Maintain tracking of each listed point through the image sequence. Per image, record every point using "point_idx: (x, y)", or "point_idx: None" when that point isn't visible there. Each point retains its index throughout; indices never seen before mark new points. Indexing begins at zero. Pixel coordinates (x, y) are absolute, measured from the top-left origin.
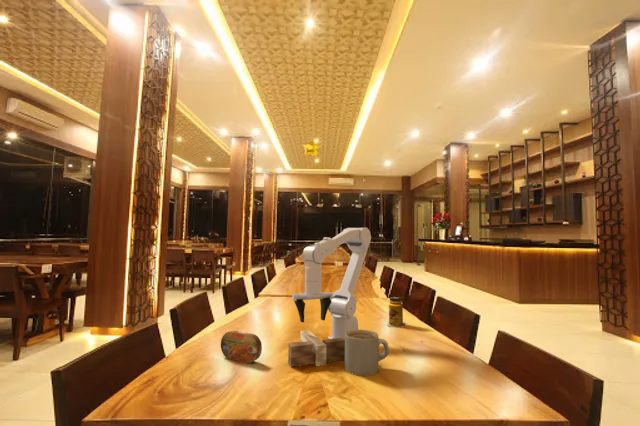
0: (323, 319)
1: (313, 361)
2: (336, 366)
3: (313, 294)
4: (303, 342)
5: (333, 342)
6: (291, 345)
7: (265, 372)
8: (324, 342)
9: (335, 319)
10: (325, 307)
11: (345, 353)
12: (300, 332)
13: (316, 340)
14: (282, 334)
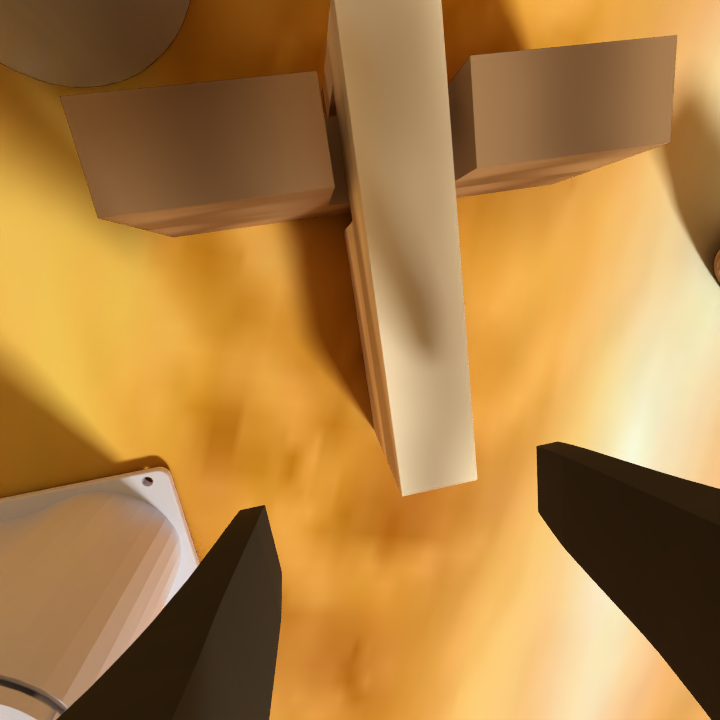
0: (257, 510)
1: None
2: (251, 43)
3: None
4: (539, 140)
5: (226, 84)
6: (665, 74)
7: (700, 78)
8: (324, 125)
9: (66, 682)
10: (158, 699)
11: None
12: (472, 473)
13: (400, 178)
14: (473, 661)
